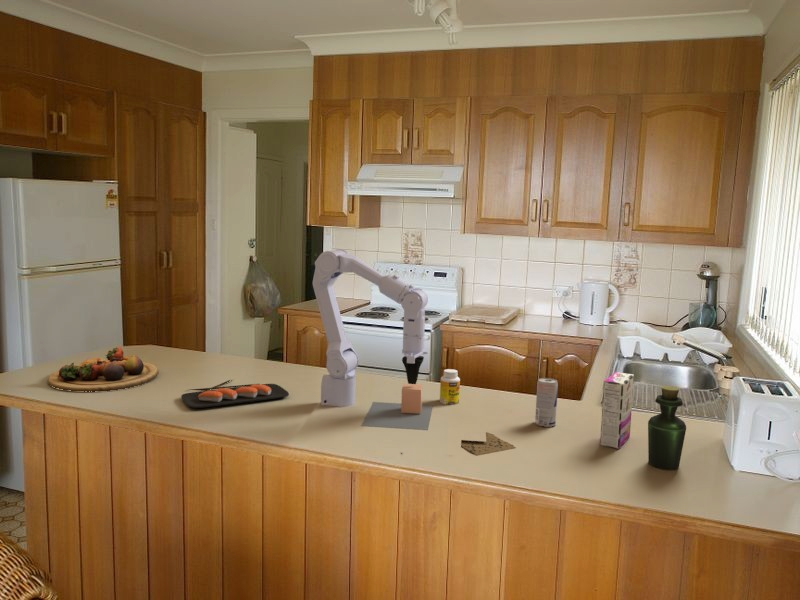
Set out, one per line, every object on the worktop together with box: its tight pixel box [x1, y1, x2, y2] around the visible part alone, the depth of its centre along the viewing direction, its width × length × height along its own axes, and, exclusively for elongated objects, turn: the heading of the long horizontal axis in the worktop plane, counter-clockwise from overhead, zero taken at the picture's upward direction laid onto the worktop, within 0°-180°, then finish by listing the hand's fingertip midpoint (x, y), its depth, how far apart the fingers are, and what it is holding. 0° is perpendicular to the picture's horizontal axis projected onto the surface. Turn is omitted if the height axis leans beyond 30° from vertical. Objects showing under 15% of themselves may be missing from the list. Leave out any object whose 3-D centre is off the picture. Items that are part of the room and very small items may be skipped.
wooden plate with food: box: [47, 346, 159, 393], centre depth 210 cm, size 32×32×8 cm
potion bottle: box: [647, 385, 687, 471], centre depth 150 cm, size 8×8×18 cm
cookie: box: [460, 431, 517, 457], centre depth 161 cm, size 12×12×1 cm
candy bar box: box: [599, 371, 635, 450], centre depth 165 cm, size 11×5×16 cm, turn 148°
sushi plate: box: [180, 379, 289, 409], centre depth 199 cm, size 29×30×4 cm
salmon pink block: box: [400, 383, 424, 414], centre depth 181 cm, size 5×5×7 cm
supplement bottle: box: [439, 368, 461, 406], centre depth 191 cm, size 6×6×10 cm
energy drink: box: [534, 377, 559, 428], centre depth 176 cm, size 5×5×12 cm
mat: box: [360, 401, 434, 431], centre depth 178 cm, size 17×21×1 cm
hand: (412, 383), depth 181 cm, fingers closed
